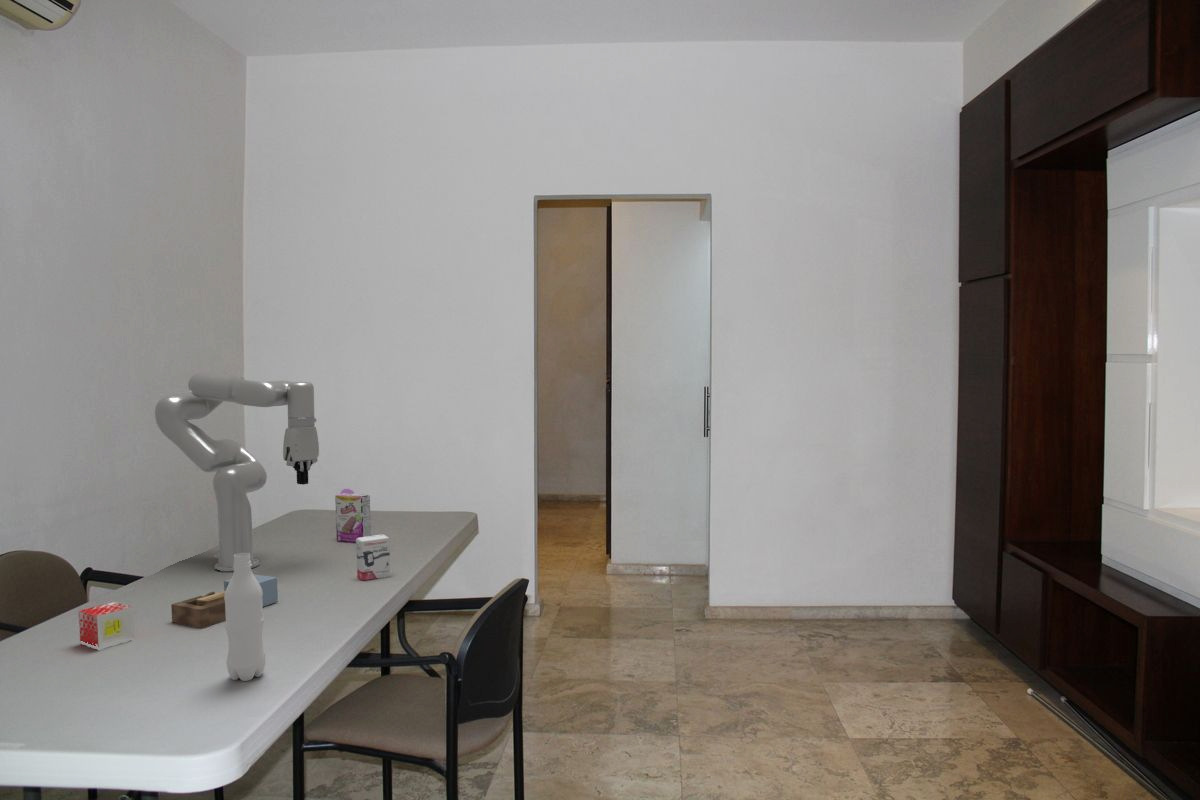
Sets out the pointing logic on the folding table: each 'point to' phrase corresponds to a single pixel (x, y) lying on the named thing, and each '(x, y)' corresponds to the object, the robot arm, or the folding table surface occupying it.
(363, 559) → the ink box
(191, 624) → the walnut end cap
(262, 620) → the water bottle
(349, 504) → the candy bar box
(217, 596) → the oak slat
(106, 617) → the red and white box
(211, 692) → the folding table surface
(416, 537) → the folding table surface
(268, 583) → the blue end cap
